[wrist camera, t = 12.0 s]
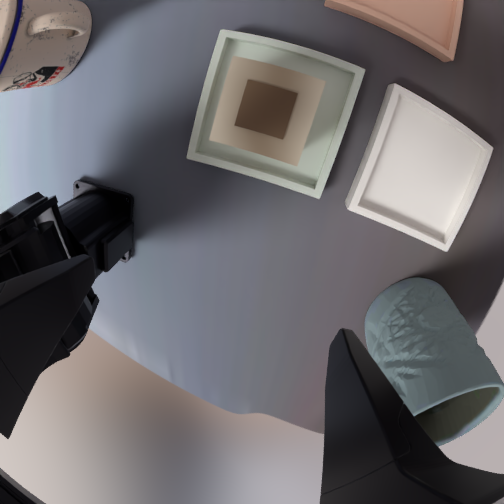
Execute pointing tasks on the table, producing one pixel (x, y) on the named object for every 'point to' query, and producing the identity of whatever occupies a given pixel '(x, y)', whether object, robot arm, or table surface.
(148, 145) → the table surface
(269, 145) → the letter cube
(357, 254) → the table surface
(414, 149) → the dish
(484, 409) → the teal patterned cup
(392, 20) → the dish
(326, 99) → the dish
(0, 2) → the teacup with lid
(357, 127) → the table surface
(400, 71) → the table surface
